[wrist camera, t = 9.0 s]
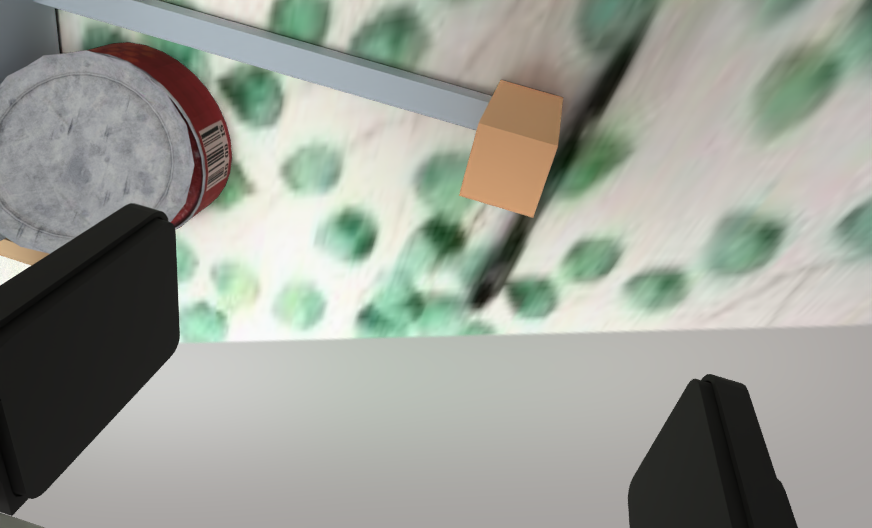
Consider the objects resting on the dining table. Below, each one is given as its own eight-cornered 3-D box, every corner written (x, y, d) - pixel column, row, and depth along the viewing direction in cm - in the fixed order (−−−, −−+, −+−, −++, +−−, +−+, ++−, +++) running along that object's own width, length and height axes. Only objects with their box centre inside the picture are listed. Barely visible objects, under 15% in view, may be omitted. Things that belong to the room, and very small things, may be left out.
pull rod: (563, 97, 28) (558, 146, 22) (485, 327, 35) (465, 411, 29) (20, -57, 30) (-122, -51, 24) (53, 192, 37) (-50, 245, 31)
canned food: (120, 71, 37) (-57, 10, 28) (258, 63, 34) (111, -9, 25) (115, 253, 38) (-61, 254, 28) (250, 263, 34) (102, 266, 25)
